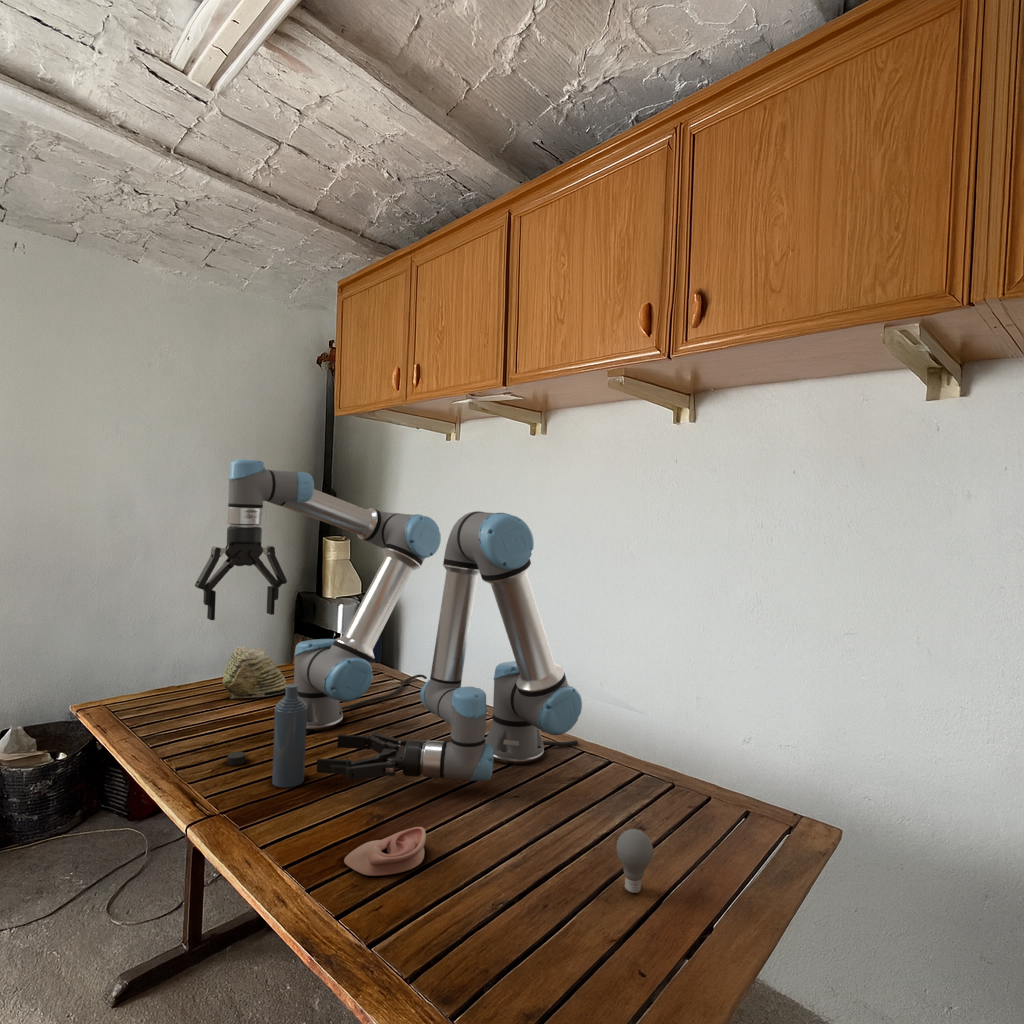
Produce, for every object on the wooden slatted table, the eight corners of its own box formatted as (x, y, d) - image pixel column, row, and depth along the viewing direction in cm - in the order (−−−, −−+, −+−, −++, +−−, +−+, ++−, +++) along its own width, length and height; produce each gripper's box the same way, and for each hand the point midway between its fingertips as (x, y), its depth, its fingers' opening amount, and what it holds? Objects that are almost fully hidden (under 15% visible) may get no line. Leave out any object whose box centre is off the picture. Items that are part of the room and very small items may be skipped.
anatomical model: (336, 847, 108) (365, 815, 119) (335, 870, 108) (364, 836, 119) (410, 859, 105) (432, 825, 116) (409, 883, 105) (431, 846, 116)
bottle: (290, 771, 145) (293, 679, 145) (310, 779, 142) (314, 684, 141) (265, 782, 139) (268, 686, 139) (286, 790, 136) (289, 692, 136)
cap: (228, 759, 150) (228, 751, 150) (246, 758, 151) (246, 750, 151) (225, 766, 146) (226, 758, 146) (244, 765, 147) (244, 757, 147)
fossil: (218, 695, 195) (220, 647, 195) (278, 685, 208) (279, 640, 207) (228, 703, 189) (230, 653, 188) (289, 692, 201) (290, 645, 201)
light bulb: (610, 879, 108) (613, 822, 108) (644, 879, 109) (647, 822, 109) (619, 902, 102) (622, 840, 102) (655, 901, 103) (658, 840, 103)
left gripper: (192, 526, 137) (189, 624, 137) (302, 527, 154) (299, 614, 154) (182, 524, 142) (178, 618, 142) (289, 525, 159) (286, 609, 159)
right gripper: (410, 802, 127) (306, 795, 128) (432, 753, 152) (345, 747, 153) (412, 765, 127) (308, 758, 128) (433, 721, 152) (346, 716, 153)
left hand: (241, 616), depth 148 cm, fingers open, 13 cm apart
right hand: (328, 752), depth 140 cm, fingers open, 13 cm apart
